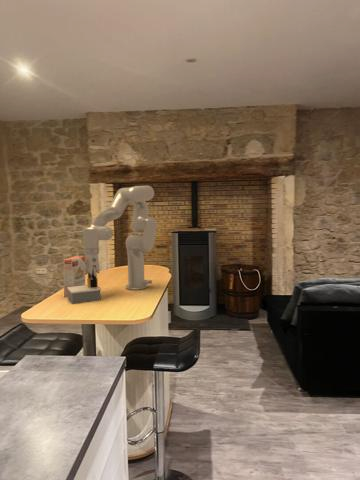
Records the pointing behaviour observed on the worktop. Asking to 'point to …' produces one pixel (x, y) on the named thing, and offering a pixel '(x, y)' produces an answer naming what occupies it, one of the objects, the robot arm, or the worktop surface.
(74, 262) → the cracker box
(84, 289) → the lid
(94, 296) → the tub
